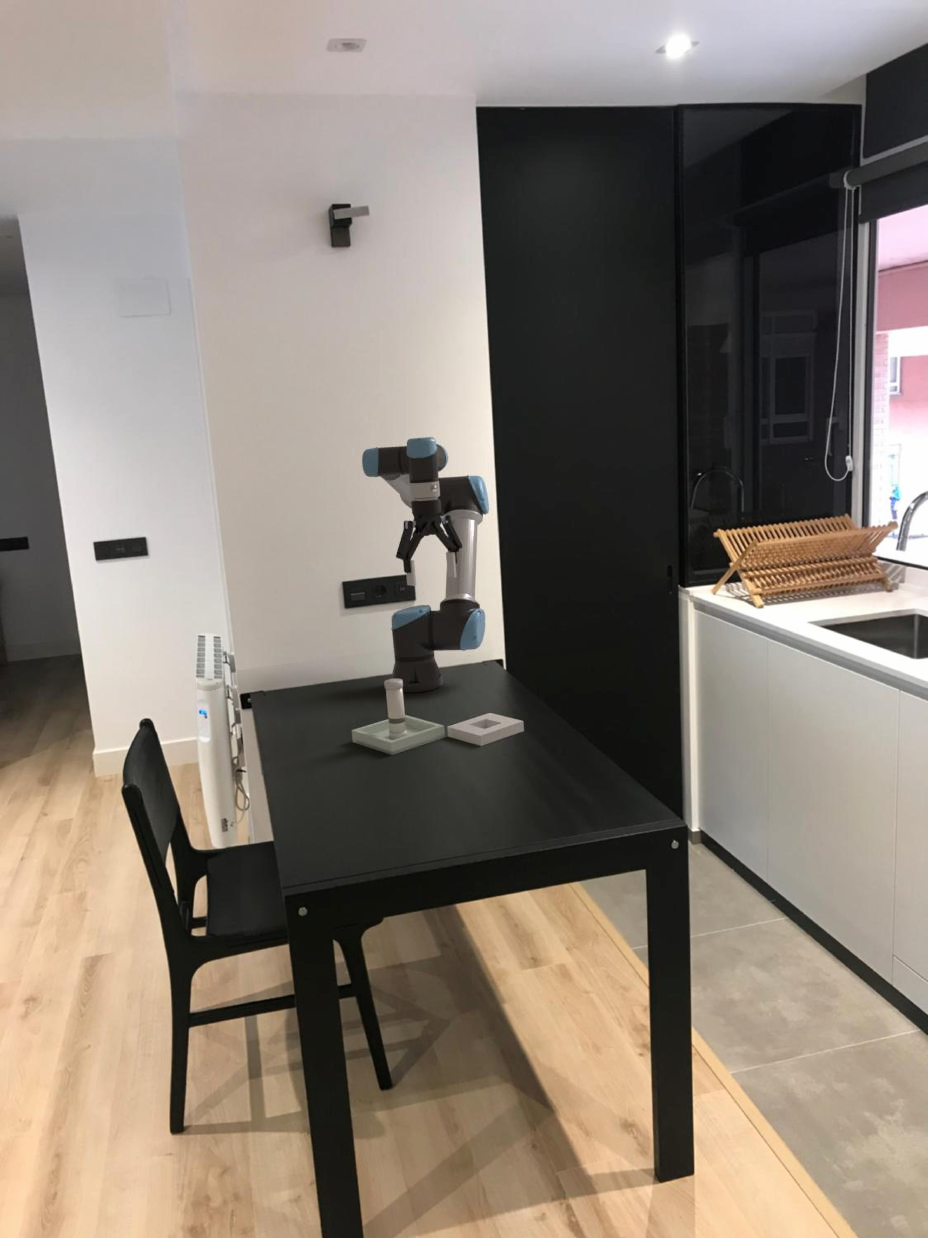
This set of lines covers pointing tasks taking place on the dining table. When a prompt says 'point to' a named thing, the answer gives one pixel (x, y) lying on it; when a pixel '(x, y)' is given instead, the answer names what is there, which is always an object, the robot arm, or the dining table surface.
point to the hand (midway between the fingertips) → (432, 581)
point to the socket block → (485, 729)
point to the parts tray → (416, 736)
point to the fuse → (395, 708)
